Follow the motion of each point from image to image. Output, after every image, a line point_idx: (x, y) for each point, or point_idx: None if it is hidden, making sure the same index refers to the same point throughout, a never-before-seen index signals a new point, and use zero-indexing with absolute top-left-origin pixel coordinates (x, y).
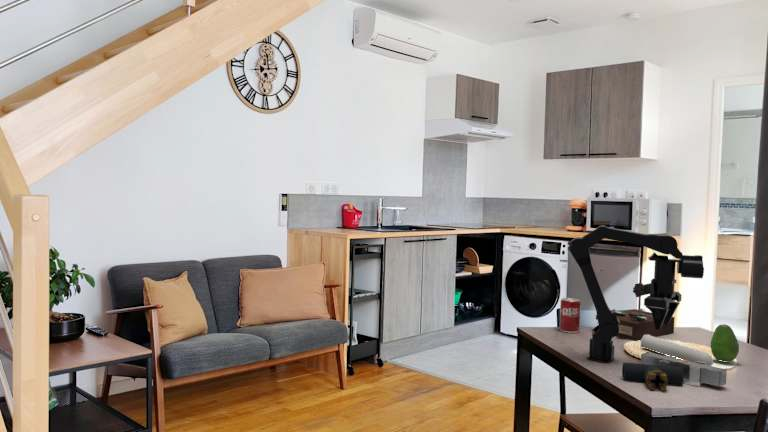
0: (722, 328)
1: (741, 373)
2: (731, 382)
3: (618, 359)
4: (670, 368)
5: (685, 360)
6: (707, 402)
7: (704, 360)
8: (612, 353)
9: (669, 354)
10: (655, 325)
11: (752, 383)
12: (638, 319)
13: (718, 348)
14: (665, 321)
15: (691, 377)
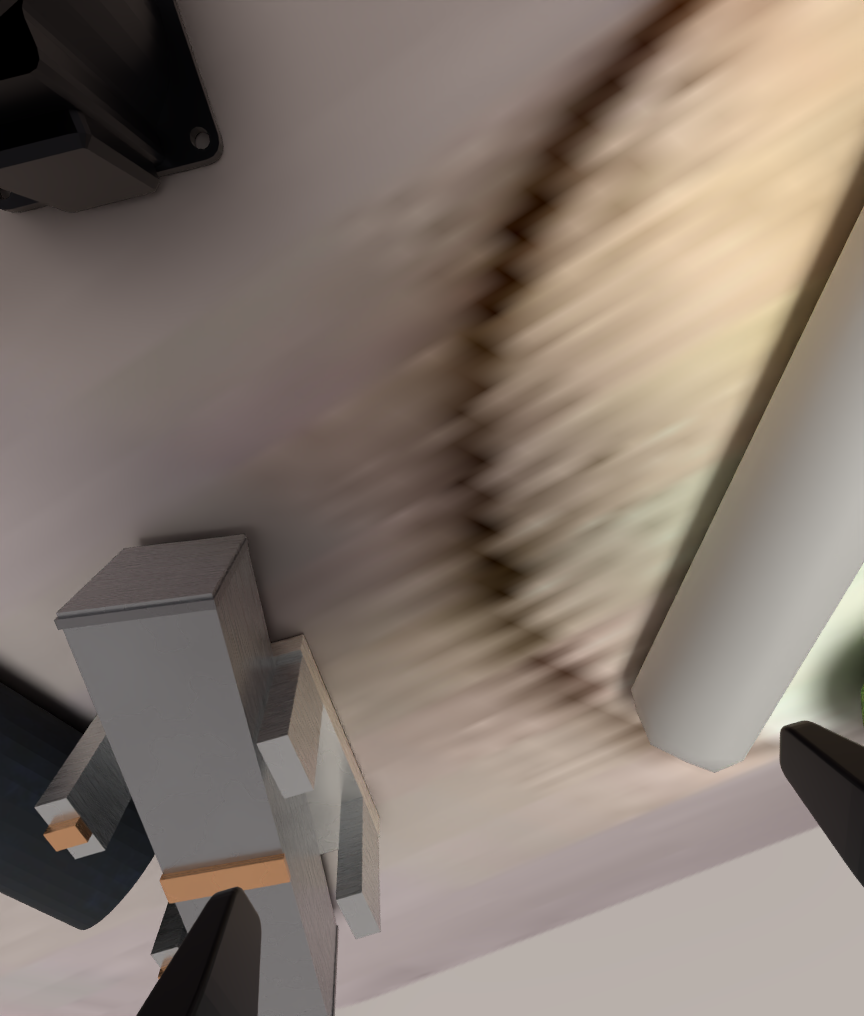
0: None
1: (693, 814)
2: (466, 873)
3: (281, 186)
4: (8, 893)
5: (265, 881)
6: (2, 991)
7: (650, 740)
8: (61, 189)
9: (753, 445)
10: (163, 985)
11: (541, 908)
12: None
13: None
14: (830, 796)
15: None
